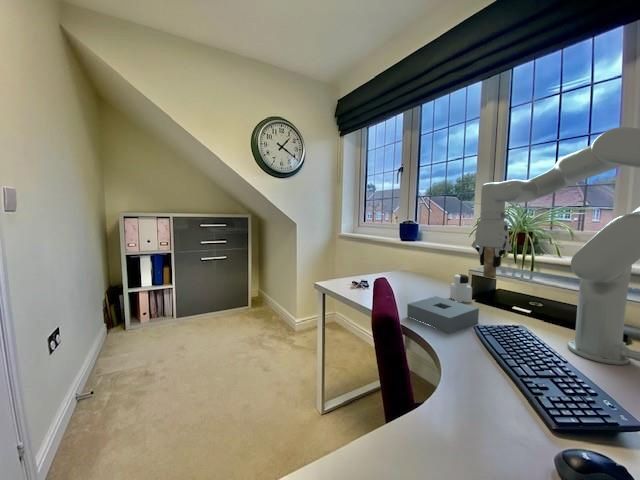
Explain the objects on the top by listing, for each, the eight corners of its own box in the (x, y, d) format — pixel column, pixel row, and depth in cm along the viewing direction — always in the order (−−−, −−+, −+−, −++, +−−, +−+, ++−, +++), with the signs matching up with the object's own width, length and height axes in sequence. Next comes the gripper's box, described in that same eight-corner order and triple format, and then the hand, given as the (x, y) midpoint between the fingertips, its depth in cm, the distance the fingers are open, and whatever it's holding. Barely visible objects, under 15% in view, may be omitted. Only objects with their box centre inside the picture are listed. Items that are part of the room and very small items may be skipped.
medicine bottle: (465, 297, 133) (466, 273, 132) (471, 302, 126) (472, 276, 125) (449, 297, 134) (450, 273, 133) (455, 302, 127) (456, 276, 125)
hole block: (478, 322, 103) (478, 308, 103) (449, 333, 94) (449, 318, 93) (435, 308, 118) (436, 296, 118) (407, 317, 109) (407, 303, 108)
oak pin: (497, 277, 103) (499, 245, 102) (492, 278, 101) (493, 246, 100) (486, 275, 106) (488, 244, 105) (481, 276, 104) (482, 245, 103)
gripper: (523, 216, 96) (520, 268, 98) (475, 216, 110) (473, 261, 112) (512, 217, 92) (509, 270, 94) (464, 217, 106) (462, 263, 108)
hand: (489, 265), depth 103 cm, fingers closed on oak pin, 4 cm apart
